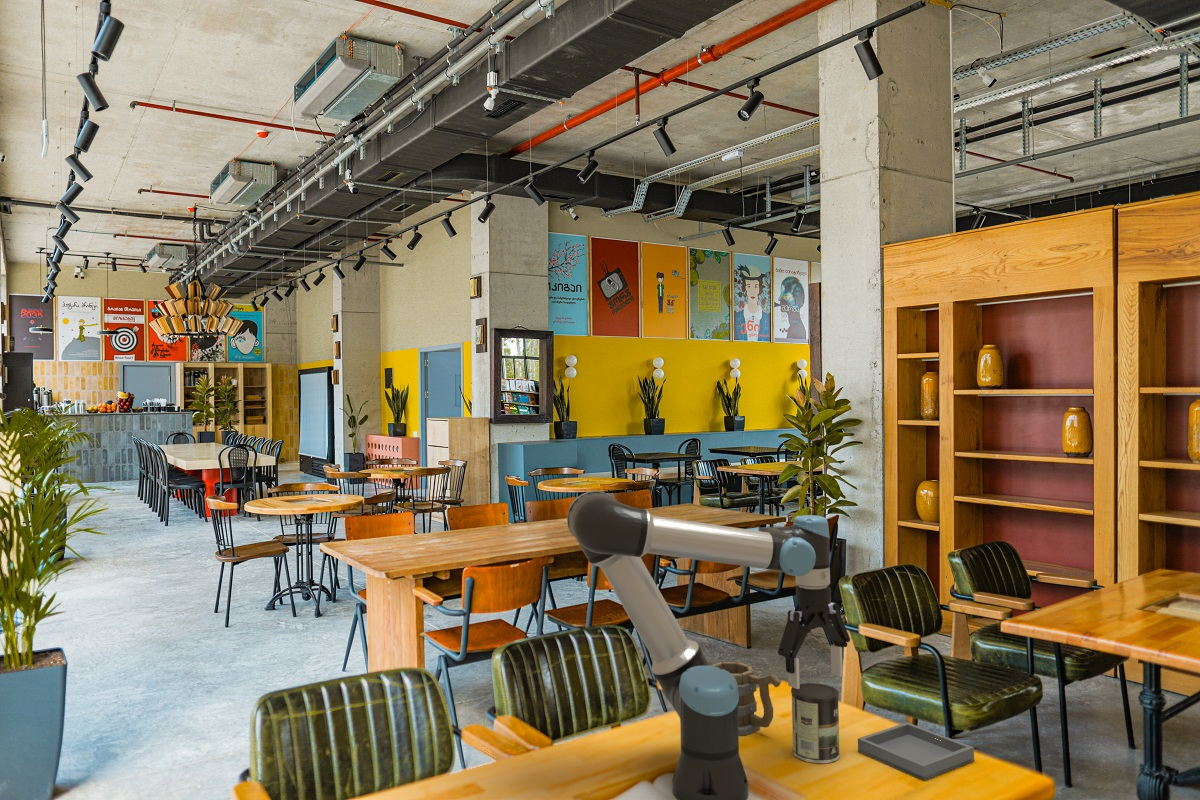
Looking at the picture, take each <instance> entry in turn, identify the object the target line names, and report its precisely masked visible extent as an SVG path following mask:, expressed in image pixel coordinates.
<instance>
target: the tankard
mask: <svg viewBox="0 0 1200 800" xmlns="http://www.w3.org/2000/svg"><path fill="white" fill-rule="evenodd" d="M710 666H714V667H718V668H720V669H724V670H726V671H728V672H729V673H731V674H732V675H733V676H734V678H735V679H736V682H737V687H738V692H739V702H738V723H739V735H746V736H748V734H749V735H751V734H753V733H754V732H755V733H756V732H758V731H759V730H761V728H769V727H770V725H771V722H772V721H773V719H774V706H773V703H772V700H771V696H770V688H769V684H771V685H772V686H774V688H778V687H780V686H781V683H782V681H781V680H780V678H778V677H777V675H775V674H774V673H771V674H768V675H764V676H759V675H758V676H757V675H754V674H755V673H754V670H753V667H752V666H751V665H749V664H746V663H742V662H739V661H738V662H737V661H721V662H716V663H713V664H710ZM757 685H758V688H759V689H758V690H759V696H760V701H761V704H762V708H763V715H762V717H761V716H758V715H757V714H755V713H757V710H758V709H757V705H758V703H757V701H756V698H755V693H756V692H757ZM750 733H751V734H750Z"/></svg>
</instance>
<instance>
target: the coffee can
mask: <svg viewBox="0 0 1200 800" xmlns="http://www.w3.org/2000/svg"><path fill="white" fill-rule="evenodd" d="M799 684H800V688H799V689H795V688H793V687H790V688H791V689H790V693H791V714H792V716H791V717H792V718H791V719H792V720H791V721H792V722H791V723H792V754H793V755H794V757H796V759H798V760H801V761H803V762H807V763H810V764H811V763H812V764H831V763H835V762H837V761H838V760H839V759H840V757H841V755H840V727H839V726H840V724H839V723H840V719H839V718H840V717H839V716H840V715H839V695H840V693H839V690H838V689H837V688H835V687H834V686H830V685H827V684H822V683H817V682H816V683H813V682H811V683H810V682H809V683H807V682H806V683H799Z"/></svg>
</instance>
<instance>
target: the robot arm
mask: <svg viewBox="0 0 1200 800" xmlns="http://www.w3.org/2000/svg"><path fill="white" fill-rule="evenodd" d="M566 520H567V521H566V522H567V526H568V530H569V532H570V533H571V534H572V536H573V537H574V539H575V540H576V542H577V543H578V545H579V547H580V548H581V550H582V552H583V554H584V555H585V557H586V559H587V560H588V562H589V564H590V565H591V566H596V567H599V568H600V569H601V571H602V573H603V574H604V576H605V577H606V579H607V581H608V583H609V585H610V586H611V588H612V589H613V592H614V593H615V596H616V598H618V600H619V602H620V603H621V605H622V607H623V609H624V611H625V612H626V614H627V616H628V618H629V620H630V621H631V623H632V625H633V626H634V629H635V630H636V632H637V633H638V635H639V637H640V638H641V640H642V642H643V644H644V646H645V647H646V649H647V651H648V653H649V654H650V656H651V657H652V661H653V662H652V665H651V671H652V673H653V675H654V677H655V679H656V680H657V682H658V683H659V686H660V687H661V691H662V693H663V694H664V695H663V696H664V697H665V698H666V700H667V701H668V702H669V703H670V704H671V706H672V708H673V709H674V711H675V713H676V714H677V716H678V717H679V723H680V724H679V725H680V728H679V729H680V753H679V756H678V760H677V765H676V768H675V772H674V773H673V777H672V793H673V795H674V797H676V799H678V800H747V799H748V798H749V780H748V778H747V775H746V771H745V767H744V764H743V762H742V759H741V756H740V747H739V746H740V745H739V744H740V743H739V742H740V741H739V740H740V739H739V737H740V736H739V723H738V702H739V692H738V687H737V682H736V679H735V678H734V676H733V675H732V674H731V673H729V672H728V671H726V670H724V669H720V668H718V667H714V666H711V664H710V662H709V661H708V659H707V657H706V655H705V654H704V652H703V650H702V649H701V646H700V645H699V643H698V642H697V641H694V640H691V639H688V638H687V636H686V635H685V633H684V631H683V629H682V628H681V625H680V624H679V622H678V620H677V619H676V617H675V615H674V613H673V612H672V610H671V609H670V607H669V604H668V603H667V601H666V600H665V598H664V597H663V594H662V593H661V591H660V590H659V589H660V588H659V587H658V585H657V584H656V583H655V580H654V579H653V576H652V575H651V573H650V571H649V570H648V568H647V567H646V565H645V563H644V561H643V559H642V557H643V556H645V555H646V554H651V555H660V556H668V557H674V558H675V557H676V558H679V559H680V558H682V559H691V560H696V561H702V562H703V561H704V562H711V563H720V564H726V565H732V566H733V565H735V566H741V567H749V568H756V569H764V570H768V571H774V572H782V573H785V574H786V575H789V576H794V577H795V584H796V587H795V601H796V603H797V604H798V610H797V611H795V610H788V611H787V619H786V620H787V621H786V624H785V627H784V629H783V630H784V631H783V635H782V637H781V640H780V644H779V648H778V650H777V655H779V656H782V657H784V658H785V671H786V672H787V686H788V687H790V688H792V687H793V688H795V689H799V688H800V684H801V683H800V659H799V658H798V657H797V656H798V653H799V652H800V651H801V650H800V649H801V647H802V646H803V643H804V641H805V639H806V637H807V636H808V633H810V632H811V631H812V630H815V629H818V628H822V630H823V631H824V633H825V634H826V635H827V636H828V638H829V640H830V641H831V642H832V643H833V644H830V670H831V671H830V672H831V673H830V674H831V675H834V676H836V677H837V676H838V677H841V678H842V677H843V676H844V674H843V671H844V670H843V660H844V648H846V647H848V643H849V642H850V641H851V638H850V635H849V633H848V630H847V627H846V625H845V623H844V621H843V618H842V615H841V611H840V610H841V609H840V605H839V603H836V602H832V595H831V594H832V590H831V587H830V586H829V585H830V584H831V573H830V572H831V568H830V567H831V565H830V564H831V563H830V539H831V538H830V537H831V536H830V529H829V528H830V527H829V522H828V519H827V518H826V517H824V516H821V515H816V514H815V515H814V514H812V515H809V514H808V515H807V514H806V515H805V514H804V515H797V516H795V517H794V518H793V523H792V525H789V526H788V525H787V526H768V527H766V526H763V527H759V526H756V527H753V528H752V527H751V528H739V527H734V526H726V525H719V524H712V523H706V522H705V523H704V522H699V521H691V520H684V519H678V518H671V517H664V516H658V515H652V514H651V513H650V511H649V510H648V509H646V508H637V507H634V506H630V505H627V504H624V503H622V502H619V501H618V500H616V499H614V498H613V496H611V495H610V494H609V493H606V492H604V491H599V490H594V491H593V490H592V491H587V492H585V493H582V494H580V495H579V496H577V497H575V499H574V500H573V501H572V503H571V504H570V506H569V508H568V512H567V517H566Z"/></svg>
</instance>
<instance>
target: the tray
mask: <svg viewBox="0 0 1200 800" xmlns="http://www.w3.org/2000/svg"><path fill="white" fill-rule="evenodd" d="M935 738H936V739H935ZM937 739H938V740H937ZM940 740H941V741H940ZM857 753H859V754H862V755H864V756H866V757H868V758H870V757H871V758H870V759H873V760H875V759H876V760H875V761H877V760H878V761H877V762H879V761H880V762H879V763H882V764H884V765H887V766H888V765H889V766H888V767H890V768H894V769H896V770H897V771H900V772H901V773H904V772H905V774H907V773H908V774H907V775H909V774H910V775H909V776H911V775H912V776H911V777H913V776H914V778H916V779H918V780H920V779H921V781H922V780H923V782H925V780H926V781H928V780H931V779H934V778H936V777H938V776H941V775H943V774H946V773H949V772H951V771H953V770H956V769H959V768H961V767H964V766H966V765H969V764H972V763H973V762H975V747H973V746H971V745H969V744H965V743H963V742H960V741H958V740H955V739H953V738H950V737H947V736H944V735H942V734H940V733H936V732H933V731H931V730H928V729H926V728H923V727H922V726H921V727H920V726H918V725H915V724H913V723H909V722H908V721H907V722H903V723H901V724H898V725H895V726H891V727H889V728H886V729H883V730H879V731H876V732H874V733H871V734H867V735H865V736H861V737H858V738H857Z"/></svg>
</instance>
